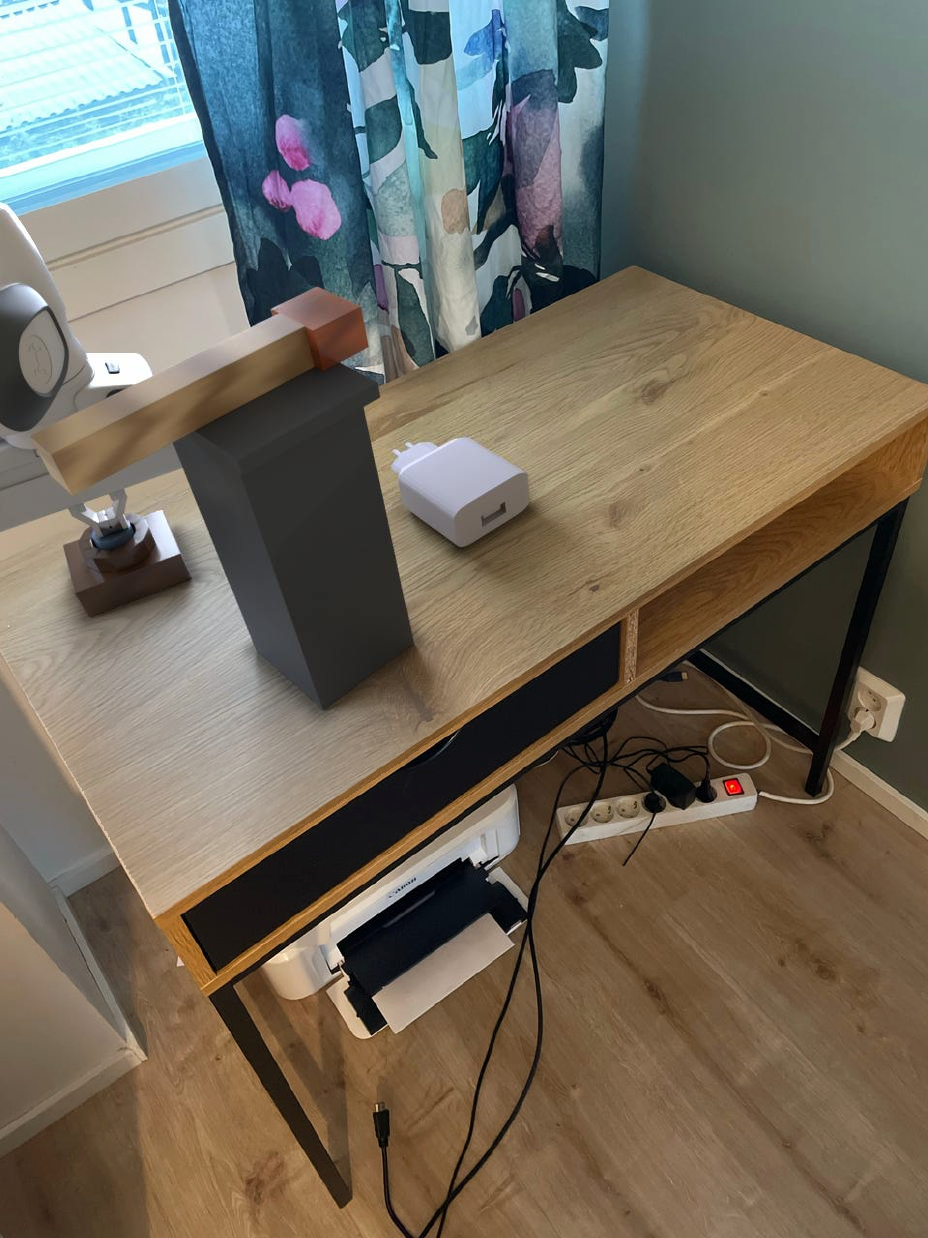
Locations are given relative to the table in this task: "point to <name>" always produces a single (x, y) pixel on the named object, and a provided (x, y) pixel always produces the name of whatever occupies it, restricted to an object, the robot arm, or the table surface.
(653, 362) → the table surface
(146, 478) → the robot arm
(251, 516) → the stand
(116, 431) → the stick
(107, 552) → the button base
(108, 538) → the plunger
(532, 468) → the table surface
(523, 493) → the charger
